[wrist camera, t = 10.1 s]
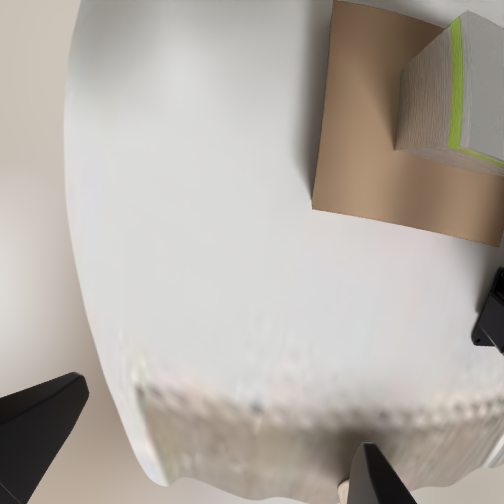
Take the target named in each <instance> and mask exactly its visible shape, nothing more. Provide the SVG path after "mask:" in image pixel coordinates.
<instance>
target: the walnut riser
mask: <svg viewBox="0 0 504 504" xmlns="http://www.w3.org/2000/svg"><path fill="white" fill-rule="evenodd" d="M444 30H445V29H444V28H441V27H439V26H436V25H433V24H430V23H427V22H424V21H421V20H418V19H415V18H412V17H408V16H405V15H401V14H398V13H394V12H390V11H386V10H382V9H378V8H374V7H369V6H365V5H360V4H355V3H349V2H343V1H337V0H334V1H333V9H332V16H331V27H330V42H329V55H328V67H327V78H326V88H325V99H324V108H323V117H322V126H321V135H320V143H319V151H318V159H317V166H316V174H315V181H314V188H313V195H312V209H315V210H321V211H327V212H333V213H338V214H344V215H350V216H356V217H361V218H366V219H372V220H377V221H382V222H388V223H393V224H398V225H403V226H408V227H413V228H417V229H422V230H427V231H431V232H436V233H441V234H445V235H450V236H454V237H458V238H463V239H467V240H471V241H475V242H479V243H483V244H488V245H492V246H495V247H499V246H500V242H501V238H502V234H503V229H504V176H498V175H492V174H486V173H480V172H473V171H466V170H463V169H460V168H456V167H453V166H450V165H447V164H443V163H440V162H436V161H433V160H429V159H426V158H422V157H418V156H414V155H411V154H407V153H403V152H398V151H394V146H395V137H396V128H397V118H398V107H399V93H400V76H401V70H402V69H403V68H404V67H405V66H406V65H407V64H408V63H409V62H410V61H411V60H412V59H413V58H414V57H416V56H417V55H418V54H419V53H420V52H421V51H422V50H423V49H424V48H425V47H426V46H428V45H429V44H430V43H431V42H432V41H433V40H434V39H435V38H436V37H437V36H439V35H440V34H441V33H442V32H443V31H444Z"/></svg>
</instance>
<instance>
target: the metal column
mask: <svg viewBox="0 0 504 504" xmlns="http://www.w3.org/2000/svg"><path fill="white" fill-rule="evenodd" d="M394 151H398V152H403V153H407V154H411V155H414V156H418V157H422V158H426V159H429V160H433V161H436V162H440V163H443V164H447V165H450V166H453V167H456V168H460V169H463V170H466V171H473V172H480V173H486V174H492V175H498V176H504V28H502V27H500V26H498V25H496V24H495V23H493V22H491V21H489V20H487V19H485V18H483V17H481V16H479V15H477V14H475V13H472V12H470V11H468V10H467V11H466V12H464V13H463V14H462V15H461V16H459V17H458V18H457V19H456V20H455V21H454V22H452V23H451V24H450V26H449V27H447V28H446V29H445V30H444V31H443V32H442V33H441V34H440V35H439V36H437V37H436V38H435V39H434V40H433V41H432V42H431V43H430V44H429V45H428V46H426V47H425V48H424V49H423V50H422V51H421V52H420V53H419V54H418V55H417V56H416V57H414V58H413V59H412V60H411V61H410V62H409V63H408V64H407V65H406V66H405V67H404V68H403V69H402V70H401V76H400V93H399V107H398V118H397V128H396V137H395V146H394Z"/></svg>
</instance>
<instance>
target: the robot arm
mask: <svg viewBox="0 0 504 504" xmlns="http://www.w3.org/2000/svg"><path fill="white" fill-rule="evenodd" d="M503 272H504V267H500V268H499V269H498V271H497V273H496V276H495V279H494V282H493V285H492V288H491V291H490V294H489V297H488V300H487V302H486V305H485V308H484V310H483V313H482V315H481V318H480V320H479V323H478V325H477V327H476V330H475V332H474V334H473V337H472V342H473V344H474V345H476V346H496V348H497V349H498V350H499V352H500V353H502V354H503V356H504V273H503ZM502 273H503V275H502V276H501V274H502ZM477 338H478V339H477ZM88 397H89V390H88V387H87V383H86V380H85V377H84V376H83V375H81V374H79V373H77V372H71V373H68V374H66V375H63V376H60V377H58V378H55V379H52V380H50V381H47V382H44V383H41V384H39V385H36V386H33V387H30V388H27V389H24V390H22V391H19V392H16V393H13V394H10V395H7V396H4V397H1V398H0V504H27V502H28V501H29V499H30V497H31V496H32V494H33V492H34V490H35V489H36V487H37V486H38V484H39V482H40V481H41V479H42V477H43V476H44V474H45V472H46V471H47V469H48V467H49V466H50V464H51V463H52V461H53V459H54V458H55V456H56V454H57V453H58V451H59V450H60V448H61V447H62V445H63V444H64V442H65V440H66V439H67V437H68V436H69V434H70V433H71V431H72V429H73V427H74V426H75V424H76V421H77V420H78V418H79V416H80V414H81V411H82V409H83V407H84V406H85V404H86V402H87V400H88ZM347 504H417V503H416V501H415V500H414V498H413V497H412V496H411V494H410V492H409V491H408V490H407V488H406V487H405V485H404V484H403V482H402V481H401V479H400V478H399V477H398V475H397V474H396V472H395V471H394V469H393V468H392V466H391V465H390V463H389V462H388V461H387V459H386V458H385V456H384V455H383V453H382V452H381V450H380V449H379V447H378V446H377V445H376V444H375V443H373V442H363V443H361V445H360V446H359V448H358V449H357V451H356V453H355V454H354V456H353V458H352V462H351V471H350V480H349V488H348V496H347Z"/></svg>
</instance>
